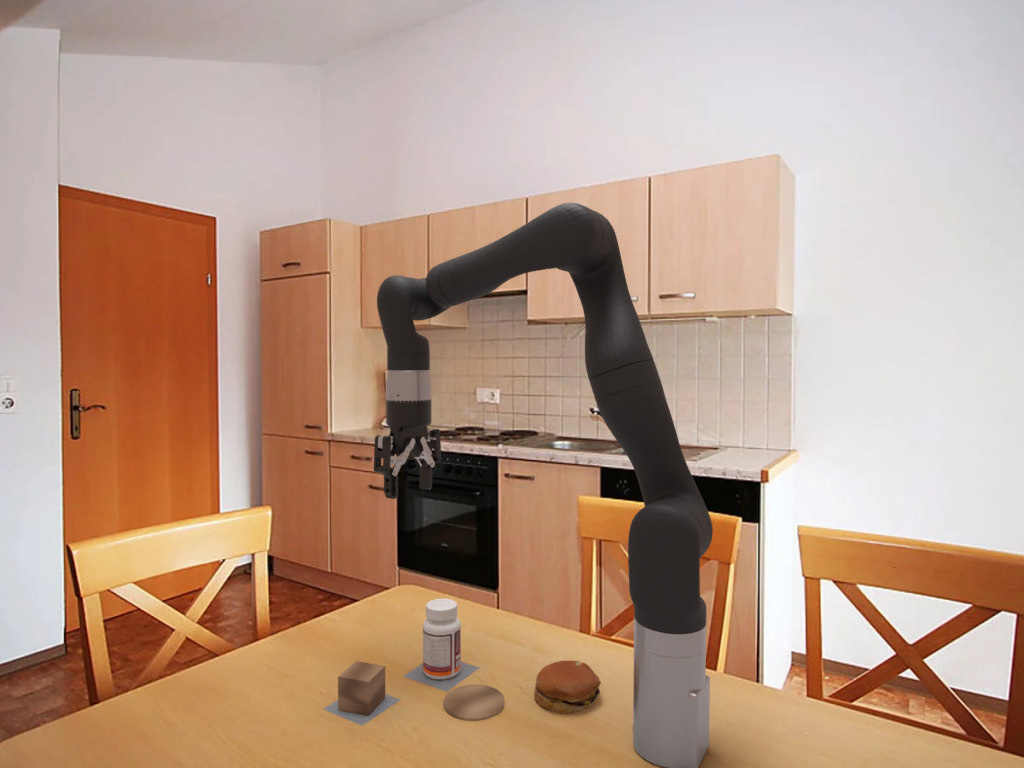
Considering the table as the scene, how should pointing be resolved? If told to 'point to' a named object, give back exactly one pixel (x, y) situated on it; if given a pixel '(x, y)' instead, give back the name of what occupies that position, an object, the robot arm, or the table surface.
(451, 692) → the coaster
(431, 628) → the pill bottle
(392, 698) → the code tile
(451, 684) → the code tile
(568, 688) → the burger
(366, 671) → the walnut block
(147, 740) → the table surface
